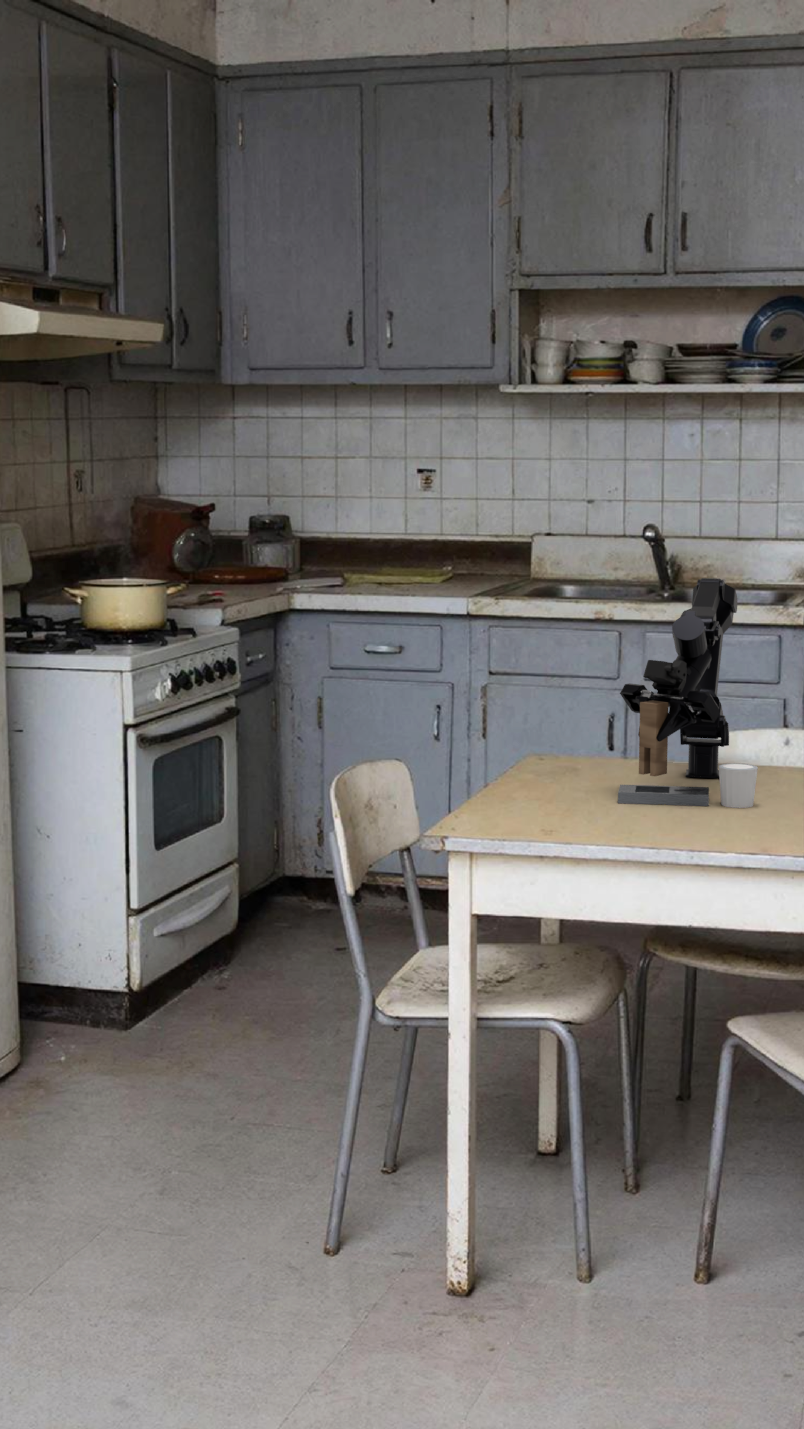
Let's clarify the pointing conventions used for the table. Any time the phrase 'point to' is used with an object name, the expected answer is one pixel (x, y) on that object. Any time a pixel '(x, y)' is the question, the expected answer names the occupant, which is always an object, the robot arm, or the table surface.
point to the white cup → (737, 784)
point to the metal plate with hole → (663, 795)
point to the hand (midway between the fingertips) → (648, 738)
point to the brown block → (652, 738)
